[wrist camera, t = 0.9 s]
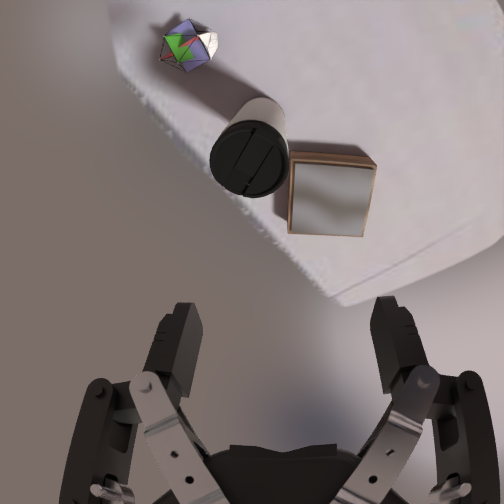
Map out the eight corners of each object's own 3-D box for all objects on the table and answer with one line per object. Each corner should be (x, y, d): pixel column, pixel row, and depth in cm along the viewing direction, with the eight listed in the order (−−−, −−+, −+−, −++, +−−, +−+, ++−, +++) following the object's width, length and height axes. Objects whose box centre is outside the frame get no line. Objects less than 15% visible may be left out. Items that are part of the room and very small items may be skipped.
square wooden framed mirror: (290, 151, 39) (291, 160, 36) (370, 157, 38) (378, 166, 35) (287, 221, 46) (287, 235, 43) (358, 225, 46) (363, 238, 42)
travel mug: (294, 108, 35) (308, 150, 19) (270, 146, 39) (263, 217, 23) (253, 87, 34) (230, 108, 18) (231, 126, 38) (194, 182, 22)
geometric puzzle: (166, 84, 32) (182, 69, 26) (146, 45, 28) (157, 23, 22) (211, 64, 34) (235, 49, 27) (191, 27, 30) (212, 5, 24)
